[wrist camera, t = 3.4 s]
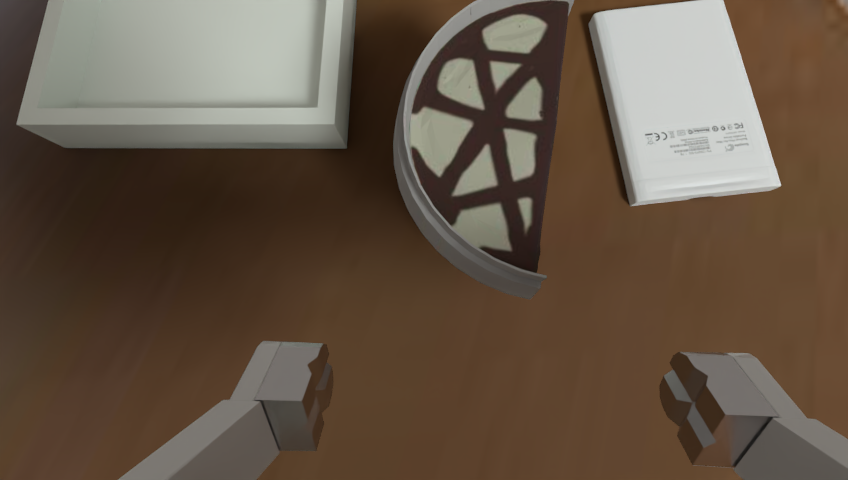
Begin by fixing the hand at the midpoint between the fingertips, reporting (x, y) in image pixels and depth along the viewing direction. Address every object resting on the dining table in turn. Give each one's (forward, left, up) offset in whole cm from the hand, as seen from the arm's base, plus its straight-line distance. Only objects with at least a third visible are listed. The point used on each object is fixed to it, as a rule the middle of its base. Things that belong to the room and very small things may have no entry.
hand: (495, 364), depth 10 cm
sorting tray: (-16, +23, -12) cm, 31 cm away
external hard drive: (+13, +15, -13) cm, 24 cm away
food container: (0, +8, -13) cm, 15 cm away
